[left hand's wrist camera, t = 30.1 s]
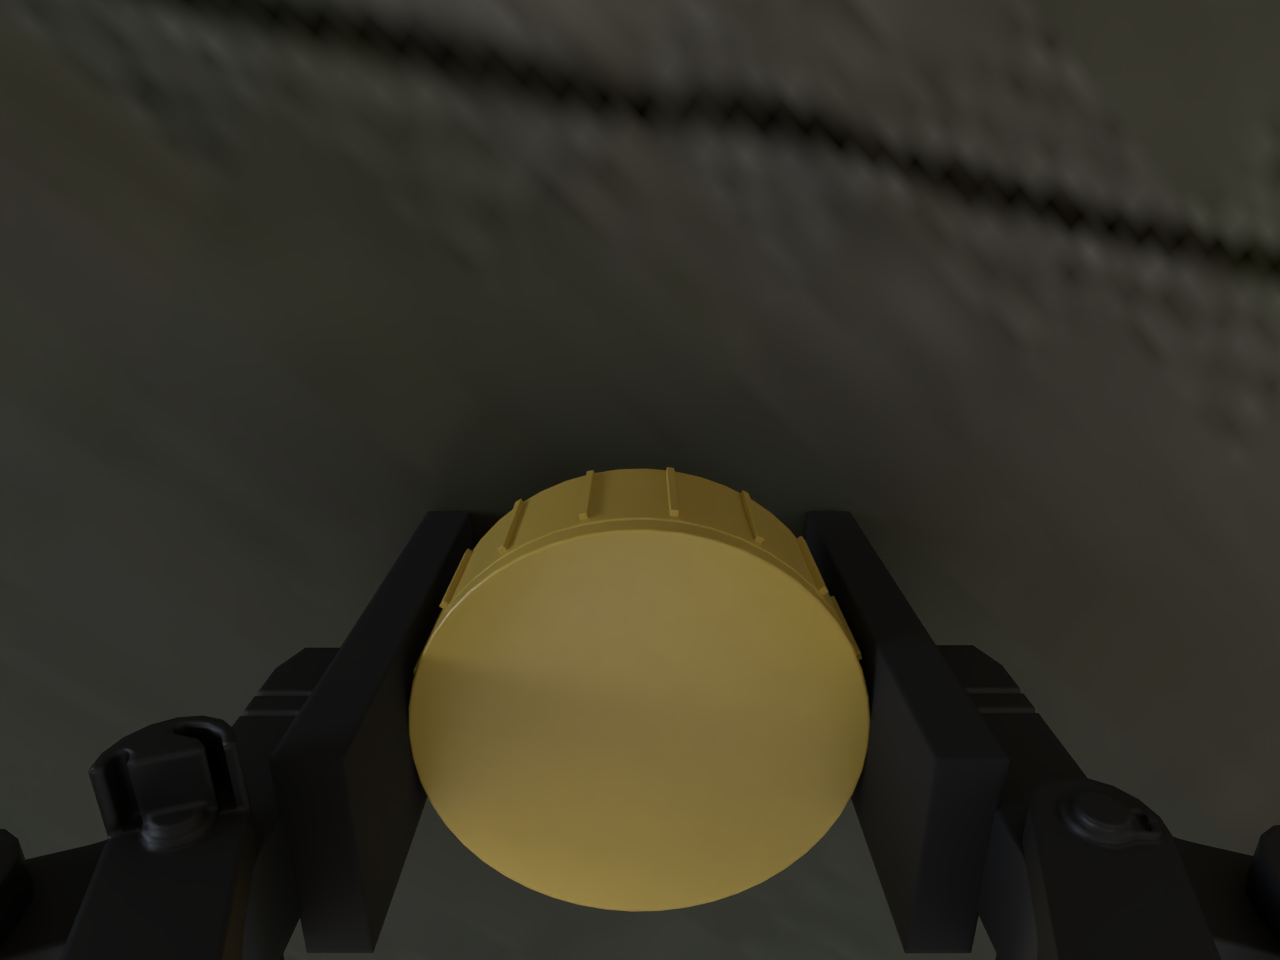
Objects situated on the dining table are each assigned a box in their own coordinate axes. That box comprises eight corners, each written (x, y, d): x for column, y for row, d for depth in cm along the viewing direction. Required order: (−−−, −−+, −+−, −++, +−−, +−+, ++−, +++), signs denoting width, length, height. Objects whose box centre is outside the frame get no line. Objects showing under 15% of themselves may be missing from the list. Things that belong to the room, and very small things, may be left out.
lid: (386, 511, 12) (330, 582, 10) (804, 420, 11) (841, 474, 9) (504, 831, 14) (481, 945, 12) (861, 767, 13) (902, 874, 11)
